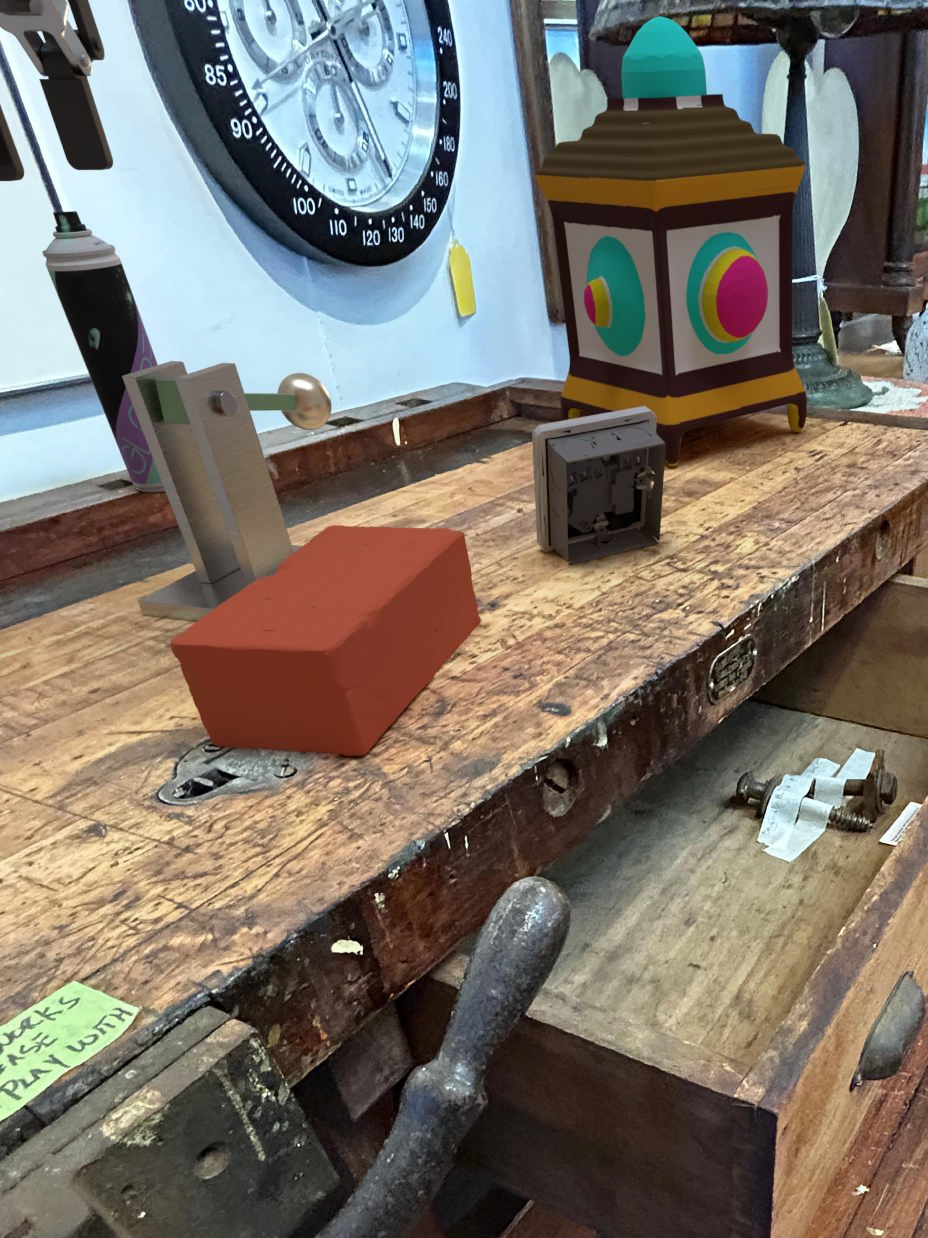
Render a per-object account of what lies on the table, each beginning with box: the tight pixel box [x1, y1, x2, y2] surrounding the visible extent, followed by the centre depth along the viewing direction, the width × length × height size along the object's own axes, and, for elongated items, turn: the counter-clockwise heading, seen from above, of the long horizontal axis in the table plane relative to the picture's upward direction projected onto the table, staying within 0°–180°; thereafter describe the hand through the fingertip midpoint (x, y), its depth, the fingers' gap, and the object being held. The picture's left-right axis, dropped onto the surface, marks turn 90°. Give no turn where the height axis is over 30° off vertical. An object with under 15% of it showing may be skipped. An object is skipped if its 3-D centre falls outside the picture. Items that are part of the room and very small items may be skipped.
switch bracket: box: [122, 360, 303, 622], centre depth 68 cm, size 12×9×14 cm
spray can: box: [41, 210, 166, 493], centre depth 87 cm, size 6×6×20 cm
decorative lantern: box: [534, 15, 808, 467], centre depth 91 cm, size 20×20×30 cm
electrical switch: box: [531, 406, 666, 565], centre depth 74 cm, size 9×5×9 cm, turn 122°
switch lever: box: [155, 372, 332, 431], centre depth 69 cm, size 14×4×4 cm, turn 162°
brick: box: [169, 524, 482, 757], centre depth 59 cm, size 18×9×6 cm, turn 170°
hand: (50, 174), depth 52 cm, fingers open, 8 cm apart
